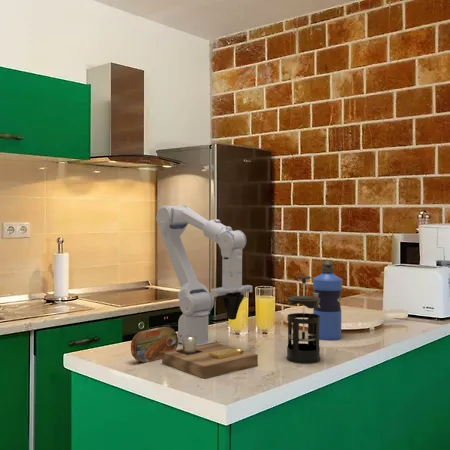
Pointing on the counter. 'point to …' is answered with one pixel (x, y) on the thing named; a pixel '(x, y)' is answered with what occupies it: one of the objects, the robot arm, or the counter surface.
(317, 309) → the water bottle
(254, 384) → the counter surface
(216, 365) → the pin plate
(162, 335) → the tin
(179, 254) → the robot arm
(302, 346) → the french press
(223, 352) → the keeper flap
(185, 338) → the peg
